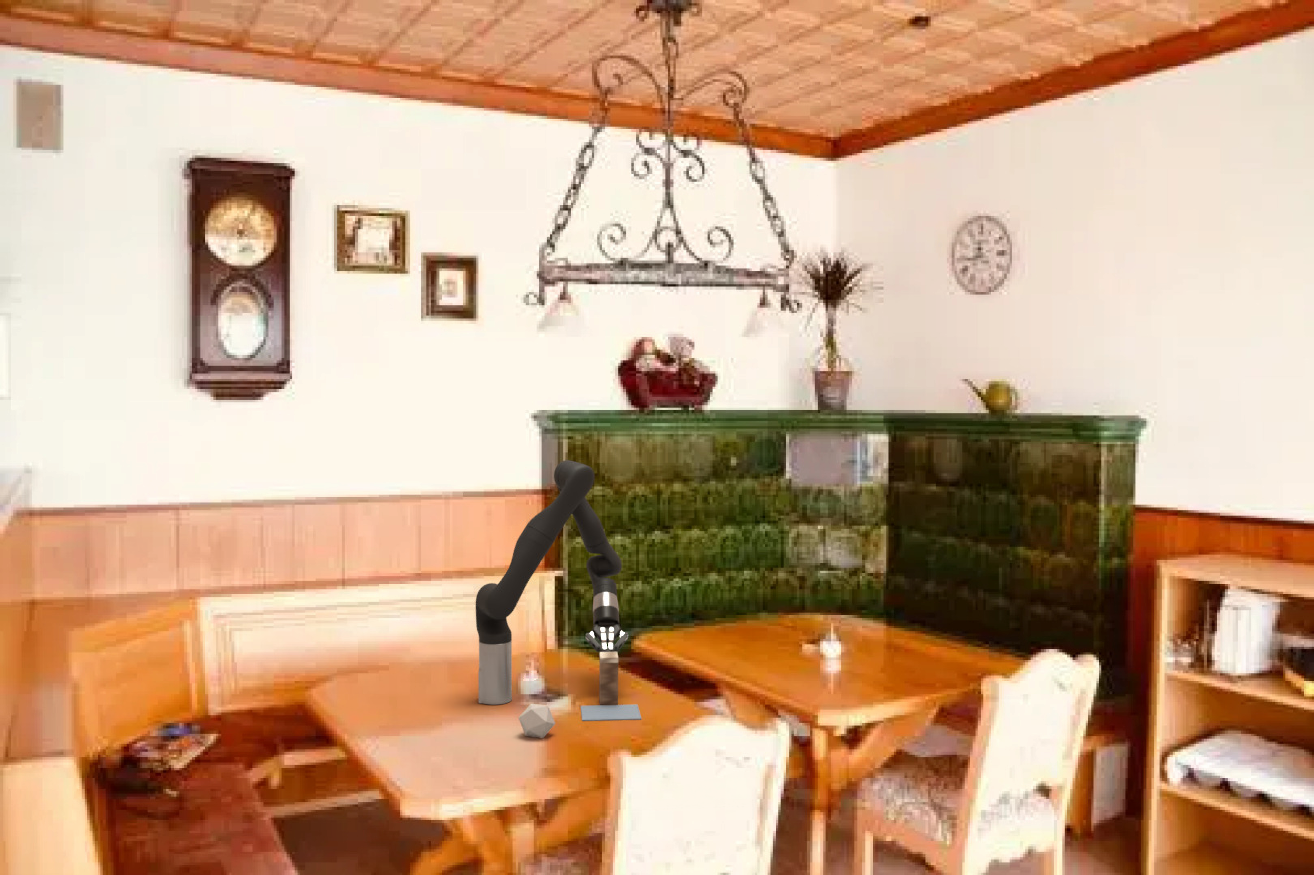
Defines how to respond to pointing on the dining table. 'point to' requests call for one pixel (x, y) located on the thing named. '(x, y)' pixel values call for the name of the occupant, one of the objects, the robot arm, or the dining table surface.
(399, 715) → the dining table surface
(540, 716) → the die
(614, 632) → the robot arm
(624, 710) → the board
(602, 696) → the block
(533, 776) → the dining table surface
